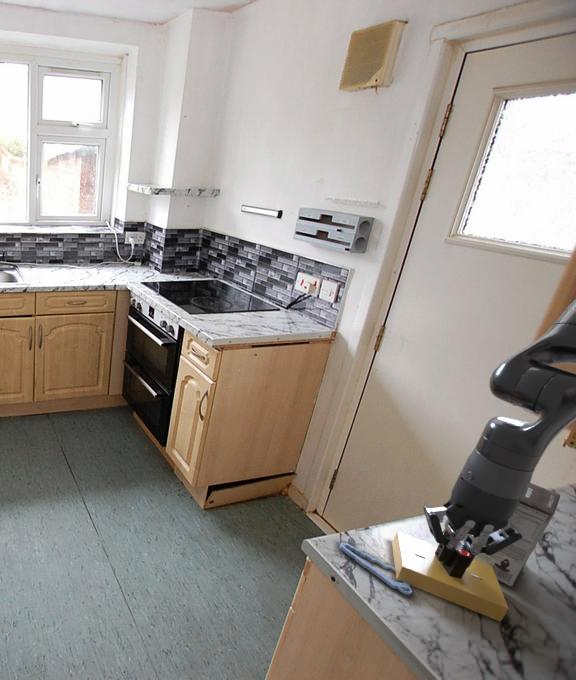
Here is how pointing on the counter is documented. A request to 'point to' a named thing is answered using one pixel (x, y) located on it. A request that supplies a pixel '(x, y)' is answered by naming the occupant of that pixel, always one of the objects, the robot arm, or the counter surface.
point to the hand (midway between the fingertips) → (449, 563)
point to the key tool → (396, 585)
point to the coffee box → (523, 533)
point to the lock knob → (458, 562)
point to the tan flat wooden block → (448, 577)
